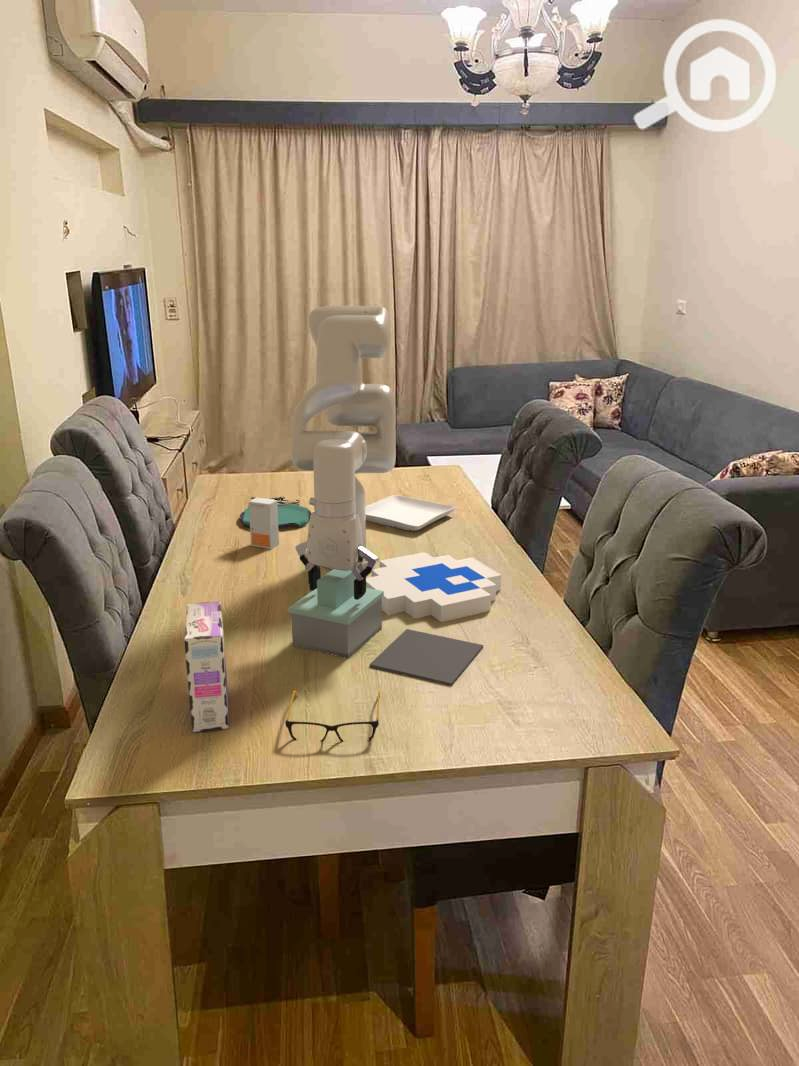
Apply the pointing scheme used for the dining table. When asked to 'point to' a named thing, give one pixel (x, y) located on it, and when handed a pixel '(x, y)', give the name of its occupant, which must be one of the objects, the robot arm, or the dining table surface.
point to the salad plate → (406, 512)
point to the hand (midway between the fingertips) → (337, 592)
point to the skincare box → (264, 522)
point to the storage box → (336, 632)
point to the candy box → (206, 666)
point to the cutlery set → (284, 514)
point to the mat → (427, 656)
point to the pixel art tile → (435, 586)
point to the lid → (335, 599)
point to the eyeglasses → (328, 728)
